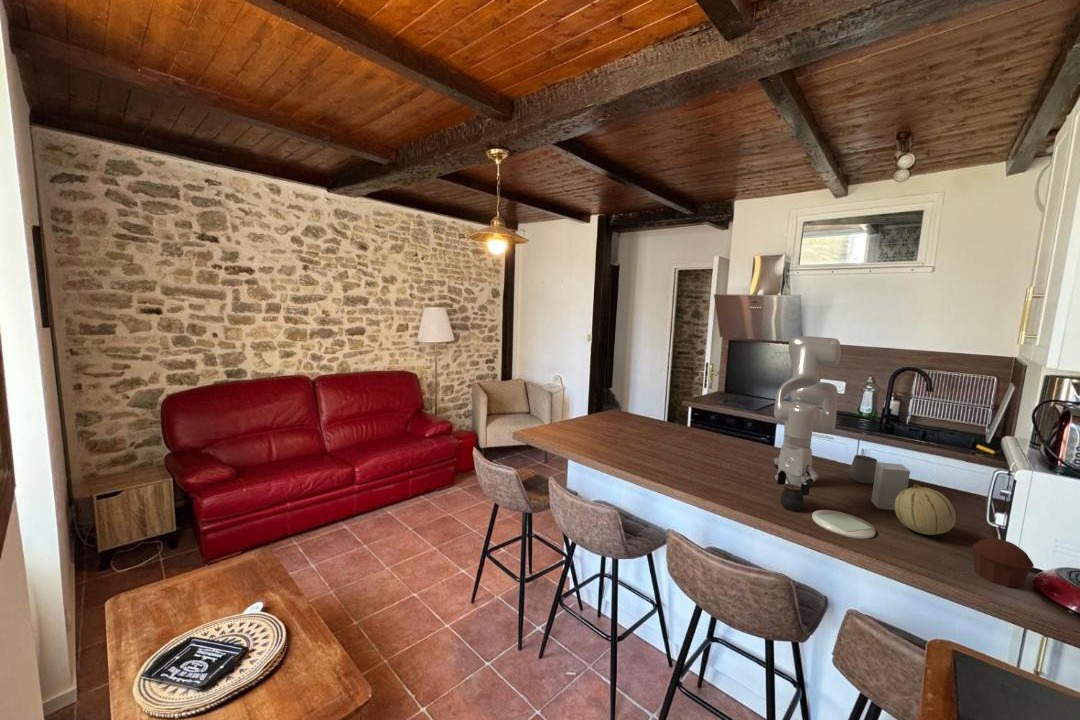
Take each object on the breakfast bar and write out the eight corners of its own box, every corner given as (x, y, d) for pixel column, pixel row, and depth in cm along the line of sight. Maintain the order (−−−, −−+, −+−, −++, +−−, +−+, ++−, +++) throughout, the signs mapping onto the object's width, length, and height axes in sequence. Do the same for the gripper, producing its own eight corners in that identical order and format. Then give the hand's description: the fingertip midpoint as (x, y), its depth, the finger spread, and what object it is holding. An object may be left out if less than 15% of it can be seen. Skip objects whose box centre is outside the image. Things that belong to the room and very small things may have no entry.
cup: (852, 483, 180) (855, 459, 179) (846, 475, 189) (849, 453, 187) (880, 487, 176) (883, 463, 175) (872, 479, 185) (875, 456, 184)
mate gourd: (790, 513, 149) (793, 485, 148) (773, 504, 157) (776, 477, 155) (807, 511, 151) (810, 484, 150) (789, 502, 158) (792, 476, 157)
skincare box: (896, 505, 160) (902, 463, 158) (905, 513, 153) (912, 470, 151) (869, 501, 163) (875, 460, 161) (876, 509, 156) (883, 466, 154)
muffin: (1032, 598, 109) (1039, 560, 107) (970, 578, 116) (976, 543, 115) (1024, 577, 117) (1031, 542, 116) (967, 560, 125) (973, 527, 123)
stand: (837, 510, 153) (838, 507, 153) (888, 535, 137) (889, 531, 137) (800, 515, 148) (800, 511, 148) (847, 541, 132) (848, 537, 132)
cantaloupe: (957, 549, 130) (965, 501, 129) (895, 534, 138) (902, 489, 136) (944, 529, 143) (952, 485, 141) (888, 516, 151) (894, 474, 149)
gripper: (769, 435, 158) (764, 480, 160) (811, 449, 141) (805, 500, 143) (786, 434, 160) (780, 479, 162) (829, 449, 144) (822, 499, 145)
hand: (792, 489), depth 152 cm, fingers open, 9 cm apart
